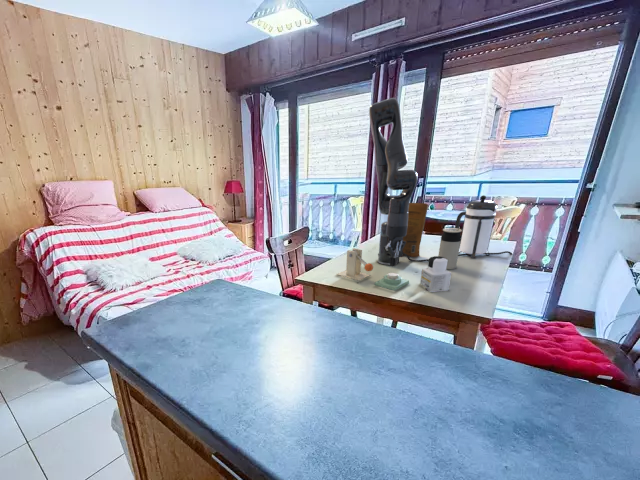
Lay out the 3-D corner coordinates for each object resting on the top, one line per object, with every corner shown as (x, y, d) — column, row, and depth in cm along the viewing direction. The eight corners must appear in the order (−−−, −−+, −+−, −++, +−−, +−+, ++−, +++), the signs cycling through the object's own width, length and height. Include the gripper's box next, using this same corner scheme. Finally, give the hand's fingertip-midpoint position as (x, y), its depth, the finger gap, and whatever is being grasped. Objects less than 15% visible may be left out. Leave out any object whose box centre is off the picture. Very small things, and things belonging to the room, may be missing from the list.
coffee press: (489, 251, 172) (501, 193, 161) (489, 260, 160) (503, 197, 149) (451, 248, 181) (460, 193, 170) (449, 256, 169) (459, 197, 158)
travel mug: (458, 269, 151) (465, 231, 144) (439, 269, 152) (445, 231, 145) (452, 264, 158) (458, 227, 151) (434, 264, 159) (440, 227, 153)
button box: (388, 280, 144) (389, 271, 143) (408, 285, 138) (409, 276, 136) (374, 287, 138) (375, 278, 136) (394, 292, 131) (395, 283, 130)
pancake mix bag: (418, 259, 168) (425, 204, 157) (383, 253, 181) (387, 202, 171) (423, 256, 172) (431, 202, 162) (389, 250, 185) (393, 200, 175)
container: (419, 285, 137) (423, 255, 132) (437, 283, 137) (441, 254, 132) (430, 292, 129) (434, 261, 125) (448, 290, 130) (454, 259, 125)
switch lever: (372, 271, 144) (376, 266, 141) (367, 274, 142) (371, 268, 139) (352, 254, 149) (356, 248, 147) (347, 255, 147) (351, 250, 145)
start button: (390, 275, 139) (390, 272, 138) (399, 278, 136) (399, 274, 135) (385, 278, 137) (385, 274, 136) (394, 280, 134) (394, 276, 133)
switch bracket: (370, 277, 149) (372, 250, 144) (358, 282, 144) (360, 254, 139) (348, 271, 157) (349, 245, 153) (336, 276, 152) (337, 250, 148)
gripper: (397, 220, 134) (393, 260, 141) (379, 225, 127) (375, 267, 133) (415, 222, 129) (409, 263, 135) (397, 227, 121) (392, 271, 128)
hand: (392, 265), depth 134 cm, fingers closed
